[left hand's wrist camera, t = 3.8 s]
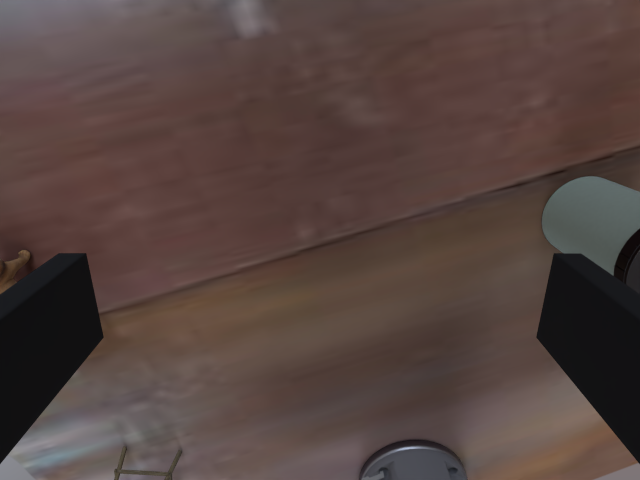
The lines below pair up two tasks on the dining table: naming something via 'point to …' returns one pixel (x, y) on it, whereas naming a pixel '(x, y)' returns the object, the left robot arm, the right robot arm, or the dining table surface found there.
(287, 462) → the dining table surface
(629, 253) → the lid
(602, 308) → the left robot arm
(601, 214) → the jar
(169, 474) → the miniature windmill
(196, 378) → the dining table surface
